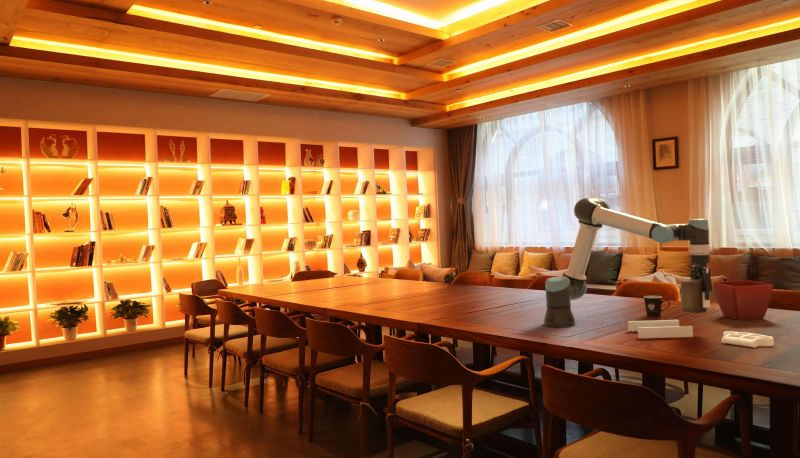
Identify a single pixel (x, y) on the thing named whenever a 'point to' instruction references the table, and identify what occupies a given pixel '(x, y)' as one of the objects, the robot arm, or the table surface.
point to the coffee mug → (654, 305)
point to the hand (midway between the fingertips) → (701, 305)
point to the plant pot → (743, 298)
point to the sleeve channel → (660, 329)
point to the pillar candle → (692, 296)
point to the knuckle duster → (746, 339)
